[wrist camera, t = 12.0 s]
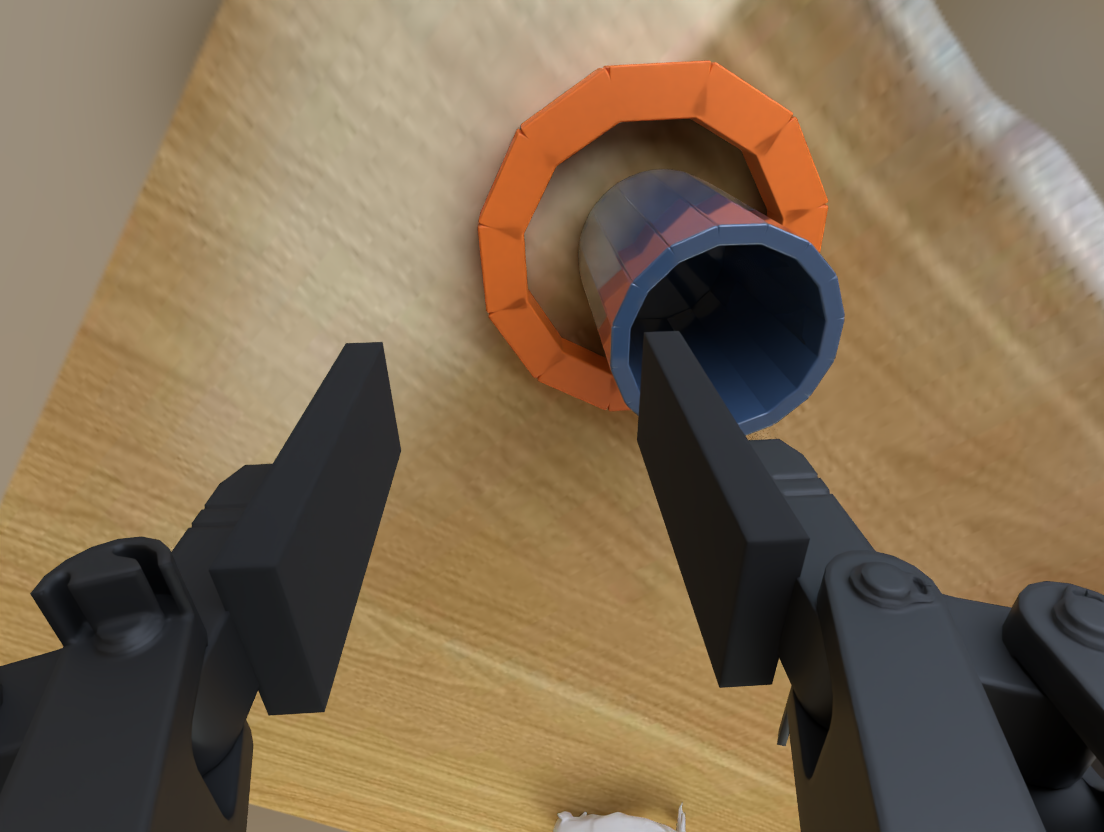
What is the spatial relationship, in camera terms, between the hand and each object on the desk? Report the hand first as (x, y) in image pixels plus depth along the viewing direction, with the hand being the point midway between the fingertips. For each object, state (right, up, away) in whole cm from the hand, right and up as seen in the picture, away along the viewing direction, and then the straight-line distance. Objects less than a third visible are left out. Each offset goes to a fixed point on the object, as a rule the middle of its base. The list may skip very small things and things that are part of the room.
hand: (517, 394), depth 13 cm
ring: (+4, +6, +10) cm, 12 cm away
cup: (+5, +6, +10) cm, 13 cm away
